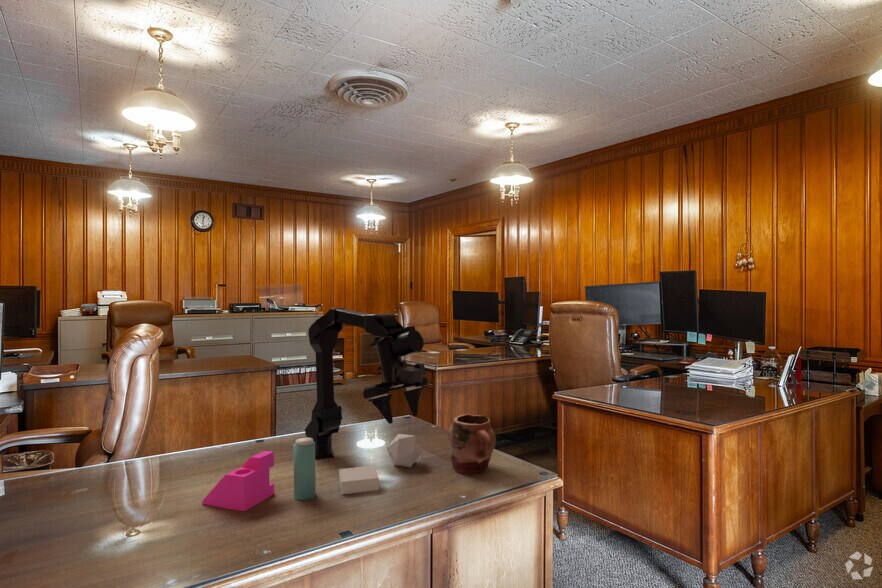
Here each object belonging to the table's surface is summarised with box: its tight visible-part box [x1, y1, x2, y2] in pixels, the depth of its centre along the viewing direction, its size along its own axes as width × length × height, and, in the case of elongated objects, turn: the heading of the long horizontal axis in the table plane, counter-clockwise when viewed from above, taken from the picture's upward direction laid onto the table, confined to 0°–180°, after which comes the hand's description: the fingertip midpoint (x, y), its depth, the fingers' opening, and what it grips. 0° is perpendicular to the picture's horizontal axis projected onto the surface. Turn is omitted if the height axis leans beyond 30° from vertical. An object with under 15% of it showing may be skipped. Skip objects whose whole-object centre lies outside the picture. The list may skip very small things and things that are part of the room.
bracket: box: [201, 450, 275, 512], centre depth 119 cm, size 12×10×10 cm
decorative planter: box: [447, 413, 497, 475], centre depth 136 cm, size 20×12×14 cm, turn 29°
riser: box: [338, 465, 380, 495], centre depth 126 cm, size 9×9×3 cm
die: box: [386, 433, 422, 468], centre depth 141 cm, size 8×9×10 cm
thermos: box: [292, 437, 317, 501], centre depth 120 cm, size 5×5×13 cm
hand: (403, 419), depth 129 cm, fingers open, 9 cm apart
